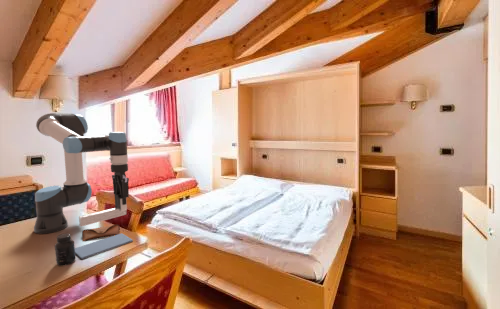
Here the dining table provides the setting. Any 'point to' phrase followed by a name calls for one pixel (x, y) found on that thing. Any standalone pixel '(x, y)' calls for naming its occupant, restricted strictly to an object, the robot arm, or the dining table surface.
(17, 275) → the dining table surface
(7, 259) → the dining table surface
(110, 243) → the mat
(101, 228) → the sunglasses case
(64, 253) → the supplement bottle
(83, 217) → the grey mallet
